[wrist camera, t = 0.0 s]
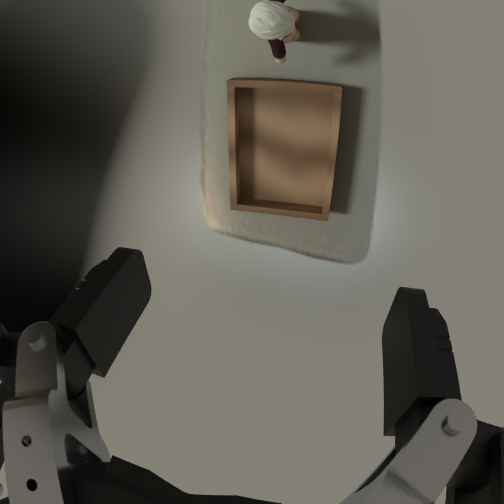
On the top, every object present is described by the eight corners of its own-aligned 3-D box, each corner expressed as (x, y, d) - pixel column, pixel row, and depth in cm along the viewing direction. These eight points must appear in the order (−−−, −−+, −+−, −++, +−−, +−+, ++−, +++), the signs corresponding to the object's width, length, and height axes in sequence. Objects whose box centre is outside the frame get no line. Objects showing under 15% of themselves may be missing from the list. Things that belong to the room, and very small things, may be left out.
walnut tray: (233, 77, 32) (226, 80, 30) (341, 84, 30) (342, 87, 28) (235, 200, 42) (230, 209, 40) (328, 211, 40) (327, 221, 38)
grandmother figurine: (263, 0, 26) (229, -23, 16) (298, -5, 25) (283, -32, 15) (274, 62, 30) (247, 70, 20) (309, 59, 29) (300, 64, 19)
